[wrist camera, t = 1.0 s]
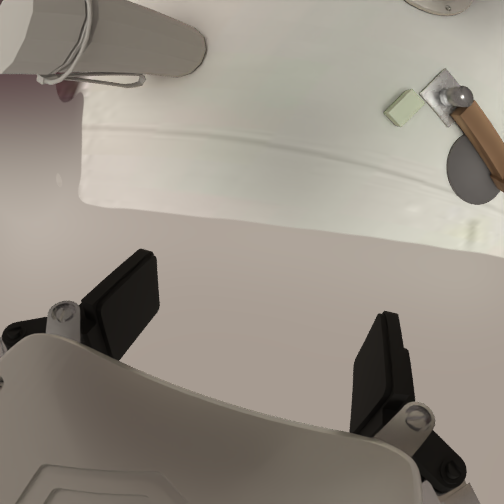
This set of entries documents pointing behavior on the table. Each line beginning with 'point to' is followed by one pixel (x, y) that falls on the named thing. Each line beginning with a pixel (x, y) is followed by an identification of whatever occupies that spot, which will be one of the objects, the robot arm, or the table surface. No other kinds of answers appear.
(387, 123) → the table surface
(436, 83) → the ball knob on plate
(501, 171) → the bar
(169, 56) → the water bottle
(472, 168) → the pad
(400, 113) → the block
